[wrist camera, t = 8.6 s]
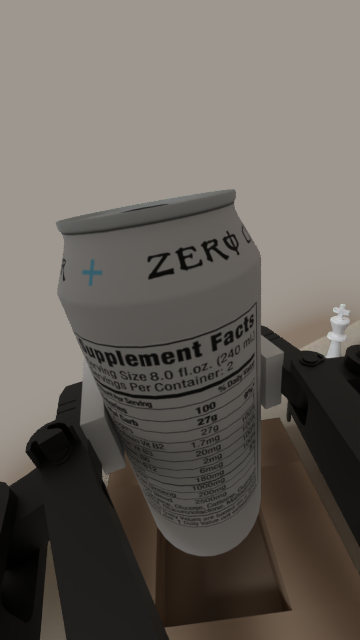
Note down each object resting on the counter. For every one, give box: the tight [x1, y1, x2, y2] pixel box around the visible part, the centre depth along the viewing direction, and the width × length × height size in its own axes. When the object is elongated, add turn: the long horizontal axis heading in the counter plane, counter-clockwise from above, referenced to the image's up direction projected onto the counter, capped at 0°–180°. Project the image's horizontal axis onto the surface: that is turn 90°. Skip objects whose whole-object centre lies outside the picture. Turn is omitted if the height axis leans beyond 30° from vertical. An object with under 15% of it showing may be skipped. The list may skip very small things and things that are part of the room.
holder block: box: [107, 418, 360, 640], centre depth 17 cm, size 16×16×4 cm
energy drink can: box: [56, 190, 261, 556], centre depth 10 cm, size 6×6×15 cm
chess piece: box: [325, 304, 351, 358], centre depth 30 cm, size 5×5×10 cm
